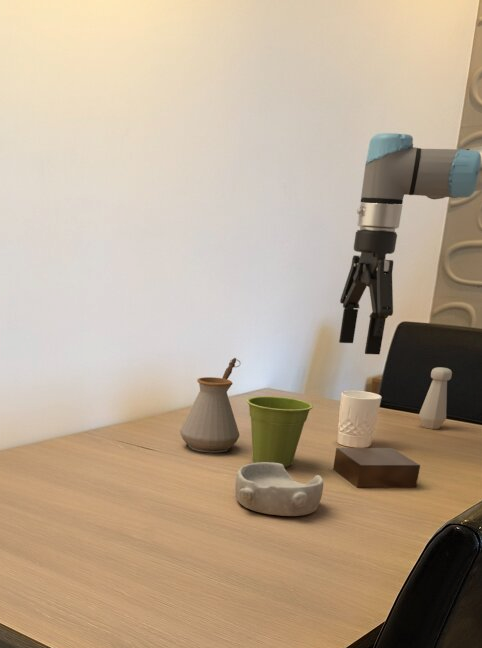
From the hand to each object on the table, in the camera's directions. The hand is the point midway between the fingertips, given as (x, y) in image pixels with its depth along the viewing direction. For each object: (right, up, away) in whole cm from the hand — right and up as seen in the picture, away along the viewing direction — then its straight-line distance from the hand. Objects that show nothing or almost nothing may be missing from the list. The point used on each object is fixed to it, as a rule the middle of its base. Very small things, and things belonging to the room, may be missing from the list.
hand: (358, 348), depth 162 cm
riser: (-1, -28, -14) cm, 31 cm away
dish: (-21, -34, -31) cm, 51 cm away
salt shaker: (+23, -10, +25) cm, 36 cm away
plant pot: (-18, -24, -9) cm, 32 cm away
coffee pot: (-28, -18, +3) cm, 33 cm away
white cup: (+1, -18, +7) cm, 19 cm away
